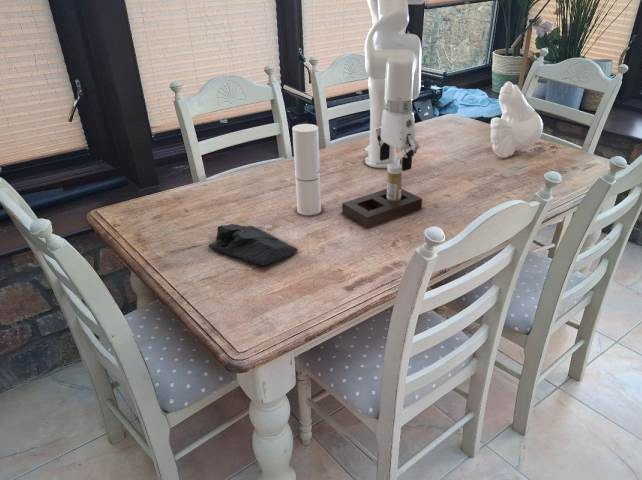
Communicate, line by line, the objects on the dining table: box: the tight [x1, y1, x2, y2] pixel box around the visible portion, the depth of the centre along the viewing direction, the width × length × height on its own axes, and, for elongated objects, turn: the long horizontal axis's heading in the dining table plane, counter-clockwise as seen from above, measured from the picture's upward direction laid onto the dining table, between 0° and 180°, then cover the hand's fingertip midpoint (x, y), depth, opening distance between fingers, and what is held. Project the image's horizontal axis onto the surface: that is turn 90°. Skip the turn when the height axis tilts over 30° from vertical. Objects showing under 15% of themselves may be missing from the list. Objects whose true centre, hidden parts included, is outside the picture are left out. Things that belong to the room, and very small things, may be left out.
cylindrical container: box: [291, 123, 322, 216], centre depth 156 cm, size 7×7×25 cm
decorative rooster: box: [489, 80, 544, 159], centre depth 198 cm, size 25×16×25 cm
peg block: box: [341, 188, 423, 229], centre depth 161 cm, size 12×21×4 cm, turn 127°
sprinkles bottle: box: [386, 163, 404, 203], centre depth 160 cm, size 5×5×13 cm
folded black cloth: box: [208, 223, 299, 266], centre depth 141 cm, size 15×22×5 cm
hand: (395, 164), depth 157 cm, fingers open, 9 cm apart
